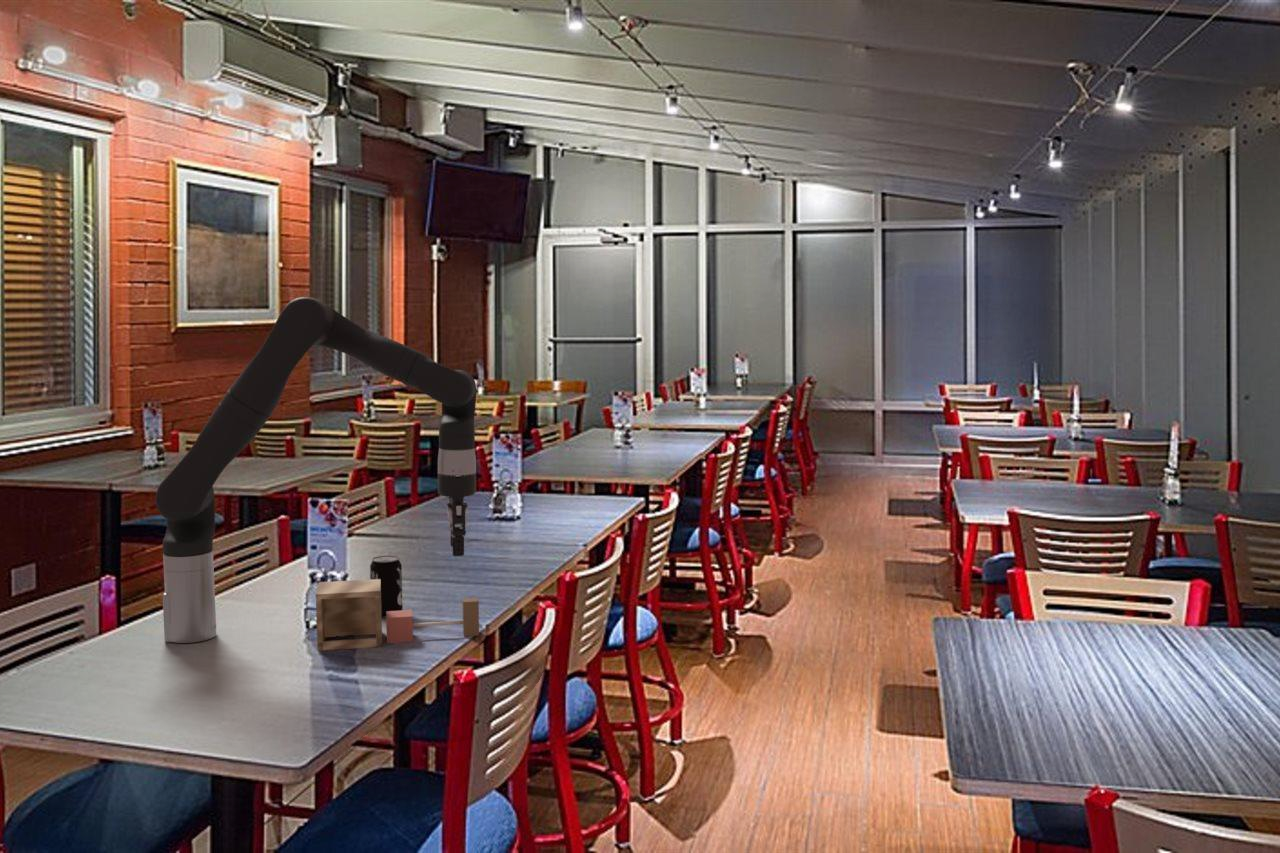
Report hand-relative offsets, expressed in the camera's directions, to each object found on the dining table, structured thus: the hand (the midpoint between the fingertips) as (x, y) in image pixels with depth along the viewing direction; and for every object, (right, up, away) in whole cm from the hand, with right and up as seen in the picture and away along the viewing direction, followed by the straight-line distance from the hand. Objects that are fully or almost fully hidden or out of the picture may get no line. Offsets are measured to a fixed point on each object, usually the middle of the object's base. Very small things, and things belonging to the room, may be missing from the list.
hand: (457, 551), depth 233 cm
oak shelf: (-20, -17, -4) cm, 27 cm away
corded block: (-5, -17, -1) cm, 18 cm away
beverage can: (-18, -15, +17) cm, 29 cm away
